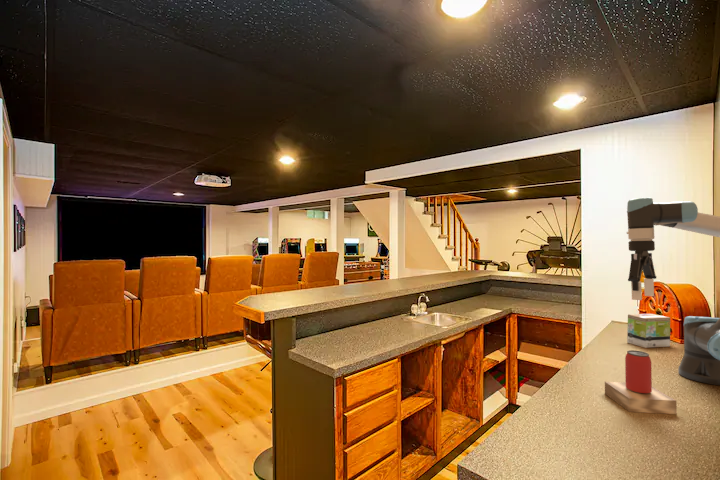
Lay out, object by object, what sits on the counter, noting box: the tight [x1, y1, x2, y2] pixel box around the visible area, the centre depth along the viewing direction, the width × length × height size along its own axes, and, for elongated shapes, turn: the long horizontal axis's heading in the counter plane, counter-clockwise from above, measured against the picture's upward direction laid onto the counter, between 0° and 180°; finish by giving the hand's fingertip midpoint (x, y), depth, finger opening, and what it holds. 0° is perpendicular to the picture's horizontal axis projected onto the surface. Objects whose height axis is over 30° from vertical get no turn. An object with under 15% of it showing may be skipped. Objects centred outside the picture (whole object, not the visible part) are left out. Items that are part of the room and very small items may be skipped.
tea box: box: [626, 313, 671, 349], centre depth 176 cm, size 15×10×15 cm, turn 102°
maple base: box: [604, 381, 678, 415], centre depth 112 cm, size 13×13×4 cm
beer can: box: [624, 349, 653, 394], centre depth 112 cm, size 7×7×12 cm
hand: (643, 297), depth 129 cm, fingers open, 13 cm apart
